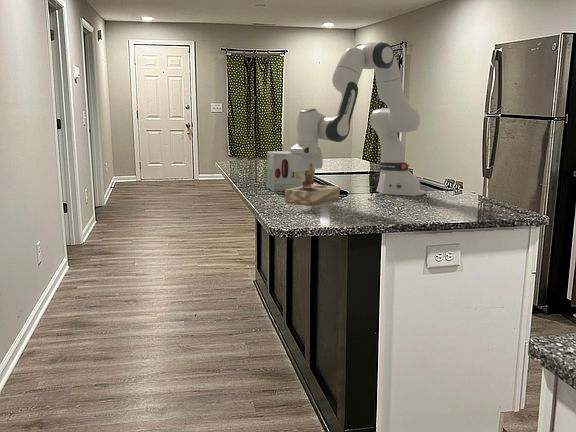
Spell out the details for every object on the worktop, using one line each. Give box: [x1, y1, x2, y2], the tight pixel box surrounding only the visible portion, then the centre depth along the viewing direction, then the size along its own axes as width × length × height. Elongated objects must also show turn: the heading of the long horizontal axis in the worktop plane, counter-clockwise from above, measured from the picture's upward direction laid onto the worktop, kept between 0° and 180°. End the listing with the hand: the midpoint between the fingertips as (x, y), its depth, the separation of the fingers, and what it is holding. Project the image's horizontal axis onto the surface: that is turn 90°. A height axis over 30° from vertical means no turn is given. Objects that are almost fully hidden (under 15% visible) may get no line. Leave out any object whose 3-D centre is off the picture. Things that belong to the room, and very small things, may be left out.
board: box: [284, 183, 341, 205], centre depth 253 cm, size 14×22×5 cm, turn 146°
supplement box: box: [266, 150, 303, 192], centre depth 283 cm, size 17×13×18 cm
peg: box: [302, 164, 312, 190], centre depth 248 cm, size 4×4×14 cm
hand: (307, 180), depth 248 cm, fingers closed on peg, 4 cm apart
